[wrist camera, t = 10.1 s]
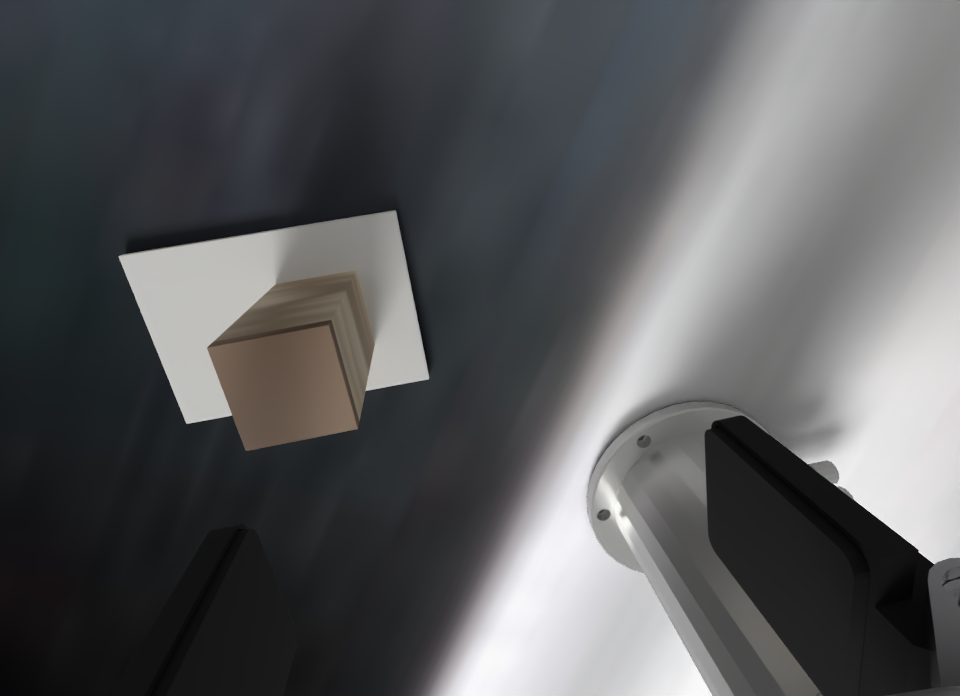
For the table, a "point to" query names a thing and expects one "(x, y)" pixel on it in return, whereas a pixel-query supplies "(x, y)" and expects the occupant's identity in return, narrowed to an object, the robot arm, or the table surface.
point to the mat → (252, 273)
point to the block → (297, 361)
